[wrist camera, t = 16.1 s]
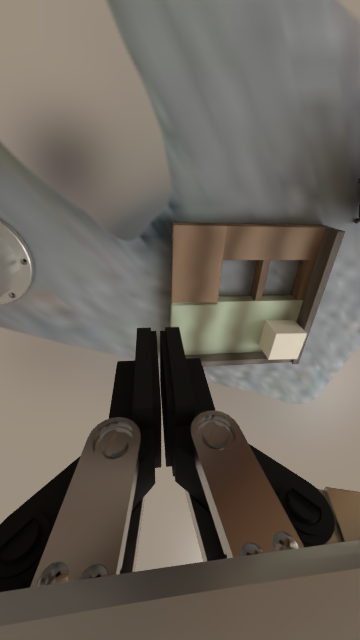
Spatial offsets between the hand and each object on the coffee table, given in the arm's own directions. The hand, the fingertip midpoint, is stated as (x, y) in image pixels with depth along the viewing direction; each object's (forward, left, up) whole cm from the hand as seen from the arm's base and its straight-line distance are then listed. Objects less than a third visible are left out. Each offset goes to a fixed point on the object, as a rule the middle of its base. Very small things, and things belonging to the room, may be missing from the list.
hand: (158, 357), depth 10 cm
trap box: (+14, -10, -27) cm, 32 cm away
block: (+21, -16, -25) cm, 36 cm away
